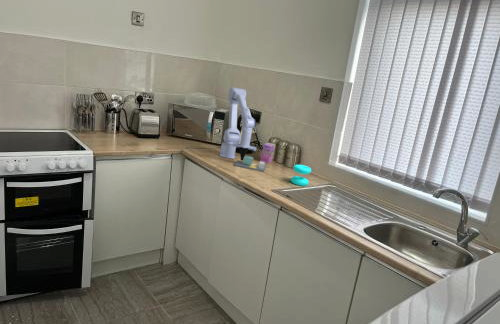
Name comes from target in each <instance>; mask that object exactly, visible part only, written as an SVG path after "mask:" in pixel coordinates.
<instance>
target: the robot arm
mask: <svg viewBox="0 0 500 324" xmlns="http://www.w3.org/2000/svg"><path fill="white" fill-rule="evenodd" d="M227 95H228V97H227V98H228V99H227V100H228V102H229V111H228V112H229V115H228V128H227V129H226V130H224V134H223V142H221V146H220V151H219V157H223V158H227V159H230V160H235V158H236V157H237V156H236V149H237V148H238V150H239V155H240V161H244V157H245V156H246V154H247V153H248V150H249V151H253V152H257V147H256V146H252V145H251V144H250V143H251V138H252V135H253V134H252V132H253V129H254V128H255V127H256V119H255V118H254V117H252V114H251V110H250V108H249V107H247V106H248V105H247V101H246V97H247V91H246V89H245V88H238V87H234V86H231V87H230V88H229V89H228V94H227ZM238 104H239V107H240V116H241V131H240V130H239V129H238V127H237V126H238ZM240 132H241V133H240Z"/></svg>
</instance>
